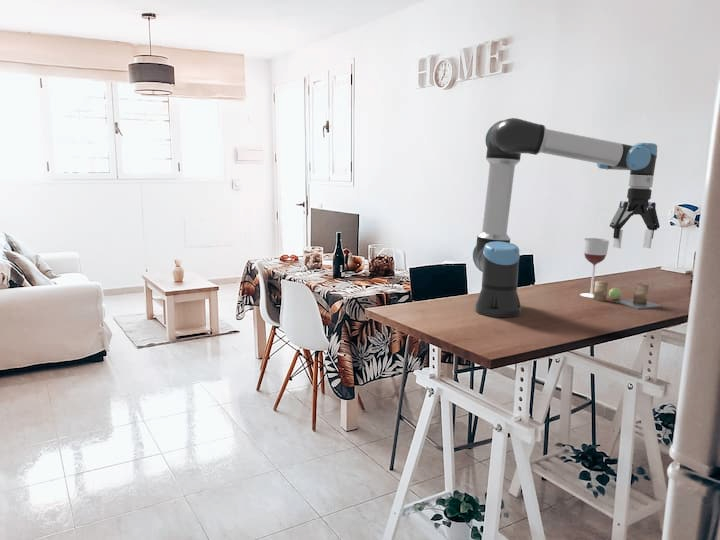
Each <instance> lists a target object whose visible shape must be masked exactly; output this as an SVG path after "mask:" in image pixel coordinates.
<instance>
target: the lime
mask: <svg viewBox="0 0 720 540" xmlns="http://www.w3.org/2000/svg"><path fill="white" fill-rule="evenodd" d="M622 296H623V293H622V290H621V289H620V288H618V287H611V289H609V291H608V297H609V298H610V299H612V301H613V300H614V301H616V300H620V299H621V297H622Z"/></svg>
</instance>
